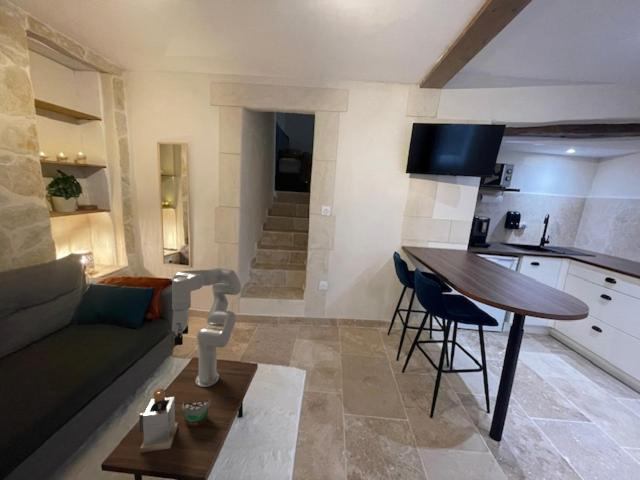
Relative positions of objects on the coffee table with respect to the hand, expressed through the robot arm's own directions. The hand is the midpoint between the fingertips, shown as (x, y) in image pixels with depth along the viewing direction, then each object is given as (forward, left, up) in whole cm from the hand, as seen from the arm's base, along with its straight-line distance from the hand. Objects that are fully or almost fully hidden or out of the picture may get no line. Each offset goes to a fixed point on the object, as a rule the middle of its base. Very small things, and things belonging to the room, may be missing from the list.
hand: (181, 339), depth 122 cm
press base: (+14, -5, -38) cm, 41 cm away
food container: (+9, +8, -38) cm, 40 cm away
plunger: (+14, -5, -36) cm, 39 cm away
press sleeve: (+14, -6, -36) cm, 39 cm away
